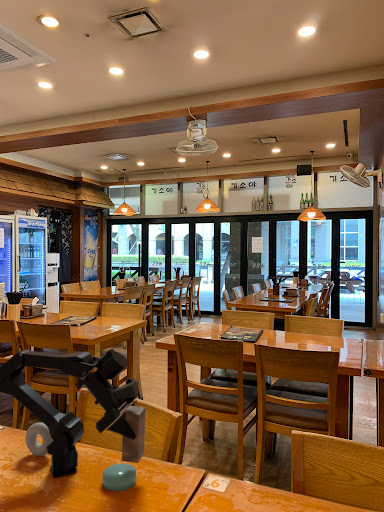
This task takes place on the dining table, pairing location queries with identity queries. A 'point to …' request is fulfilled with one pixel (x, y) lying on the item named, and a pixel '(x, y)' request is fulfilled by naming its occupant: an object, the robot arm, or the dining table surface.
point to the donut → (33, 442)
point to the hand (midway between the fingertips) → (138, 433)
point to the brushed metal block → (136, 421)
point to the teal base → (119, 477)
